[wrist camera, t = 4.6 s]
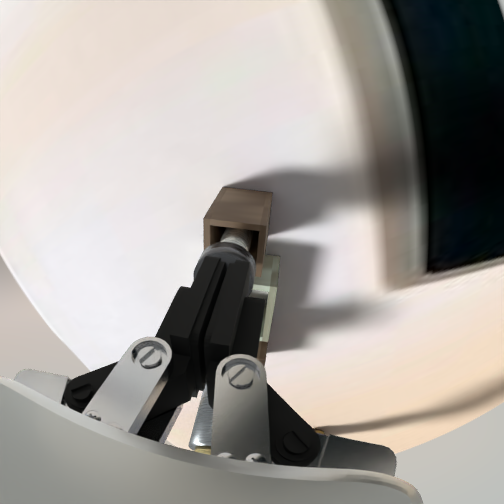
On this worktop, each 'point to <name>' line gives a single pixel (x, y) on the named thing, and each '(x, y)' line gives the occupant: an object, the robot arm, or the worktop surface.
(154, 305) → the worktop surface
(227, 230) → the round dark gray knob
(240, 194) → the compartment holder
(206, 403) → the gray yellow-capped cylinder
